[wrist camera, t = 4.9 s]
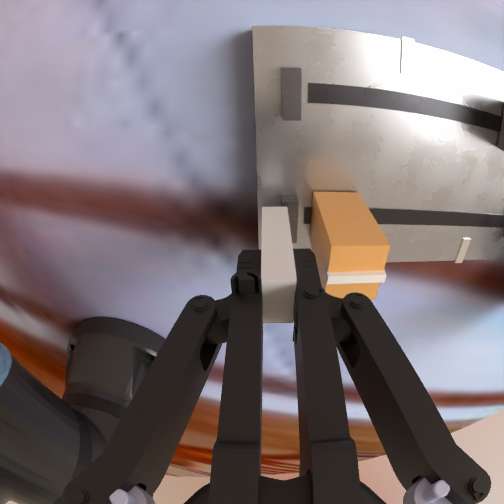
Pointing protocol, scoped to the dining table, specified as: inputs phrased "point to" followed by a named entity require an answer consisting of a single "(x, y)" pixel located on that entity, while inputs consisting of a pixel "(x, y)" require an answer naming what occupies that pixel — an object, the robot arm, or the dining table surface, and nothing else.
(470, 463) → the robot arm
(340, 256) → the fader orange
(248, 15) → the dining table surface
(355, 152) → the console
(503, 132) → the fader graphite
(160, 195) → the dining table surface
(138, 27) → the dining table surface
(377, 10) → the dining table surface
